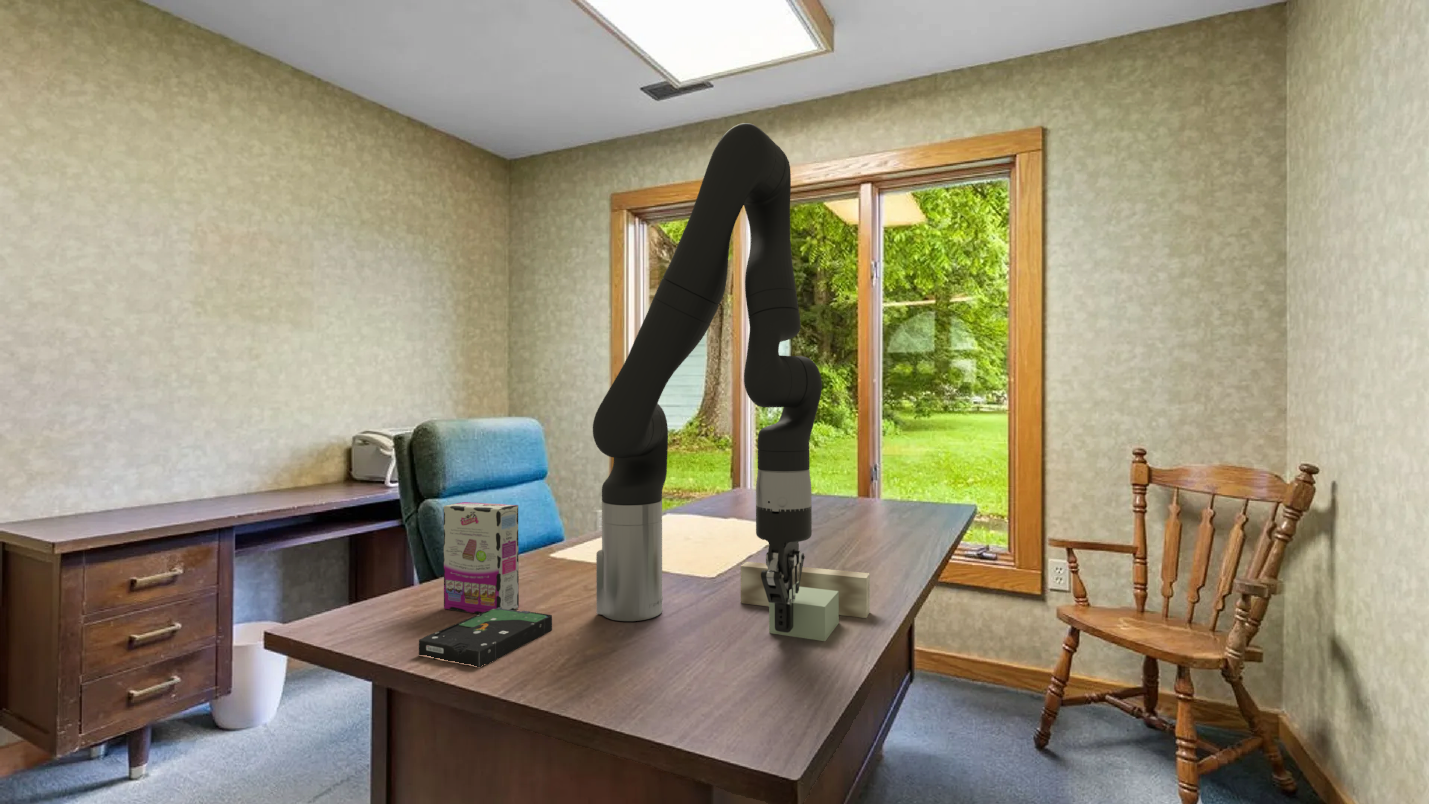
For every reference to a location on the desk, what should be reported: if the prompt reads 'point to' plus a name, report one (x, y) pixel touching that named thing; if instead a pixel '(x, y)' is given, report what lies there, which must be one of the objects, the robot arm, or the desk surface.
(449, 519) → the candy bar box
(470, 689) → the desk surface
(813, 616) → the sage block
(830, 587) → the stop board
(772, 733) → the desk surface
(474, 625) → the disk drive
